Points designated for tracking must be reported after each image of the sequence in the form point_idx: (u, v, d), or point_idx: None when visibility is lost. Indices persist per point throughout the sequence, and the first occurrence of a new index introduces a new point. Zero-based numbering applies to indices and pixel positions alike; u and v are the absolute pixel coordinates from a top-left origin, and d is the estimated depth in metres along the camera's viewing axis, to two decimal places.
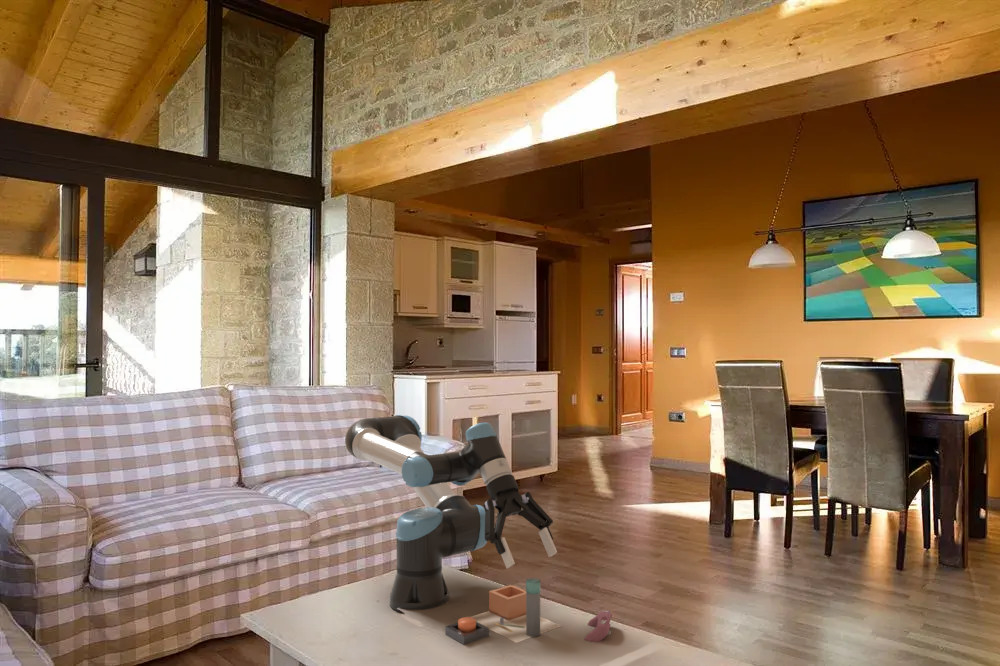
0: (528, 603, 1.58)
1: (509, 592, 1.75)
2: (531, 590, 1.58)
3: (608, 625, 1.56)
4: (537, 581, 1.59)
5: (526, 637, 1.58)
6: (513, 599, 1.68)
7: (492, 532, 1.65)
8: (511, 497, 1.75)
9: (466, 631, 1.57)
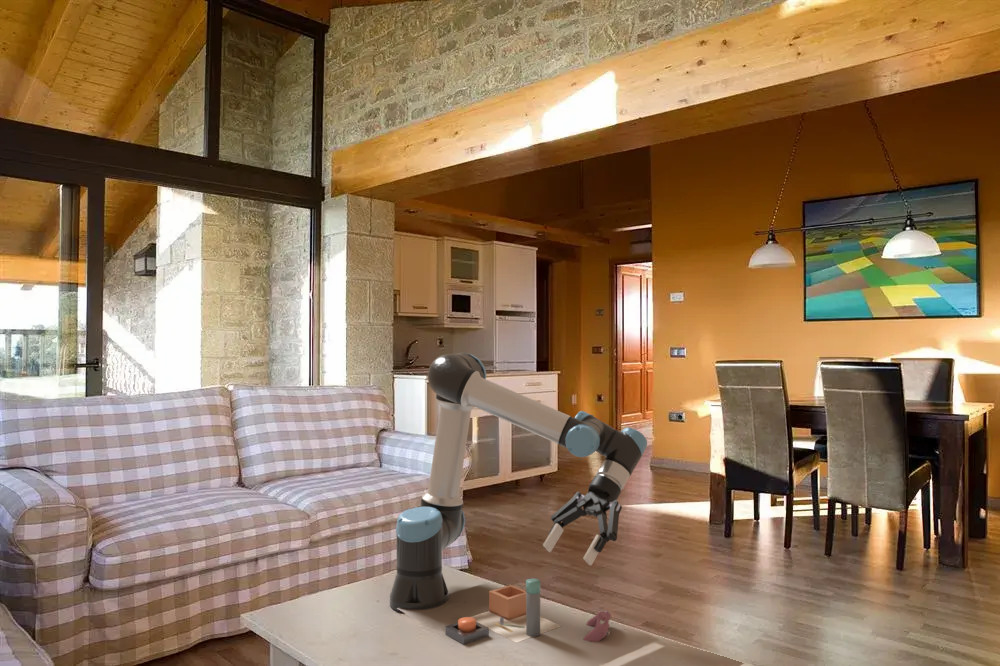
0: (528, 603, 1.58)
1: (509, 592, 1.75)
2: (531, 590, 1.58)
3: (607, 625, 1.56)
4: (537, 581, 1.59)
5: (526, 637, 1.58)
6: (513, 599, 1.68)
7: None
8: None
9: (466, 631, 1.57)
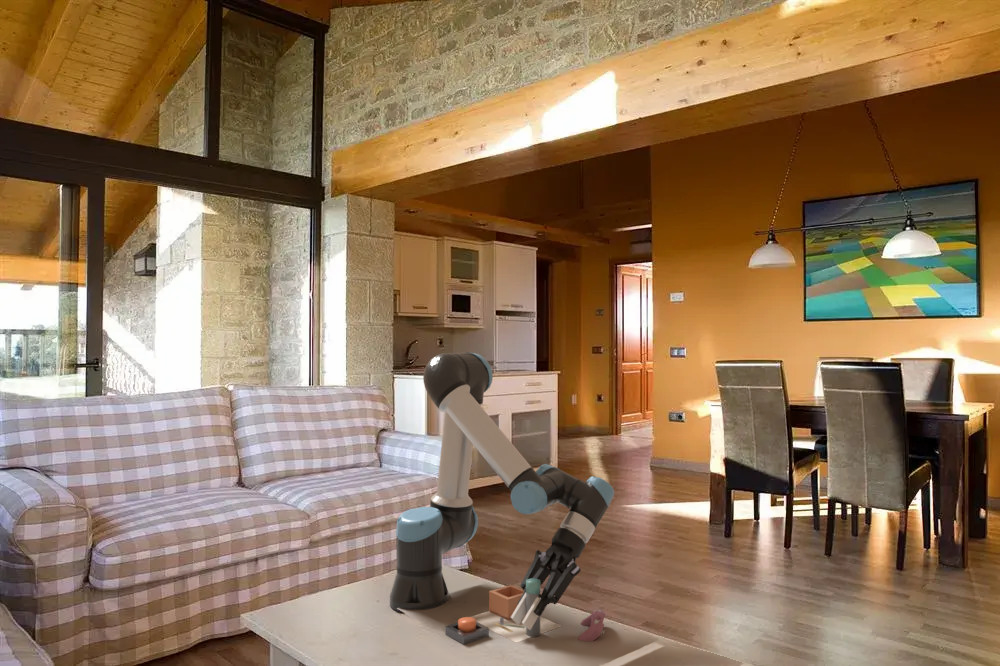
0: (528, 603, 1.58)
1: (509, 592, 1.75)
2: (531, 590, 1.58)
3: (601, 625, 1.56)
4: (537, 581, 1.59)
5: (526, 637, 1.58)
6: (513, 599, 1.68)
7: None
8: None
9: (466, 631, 1.57)
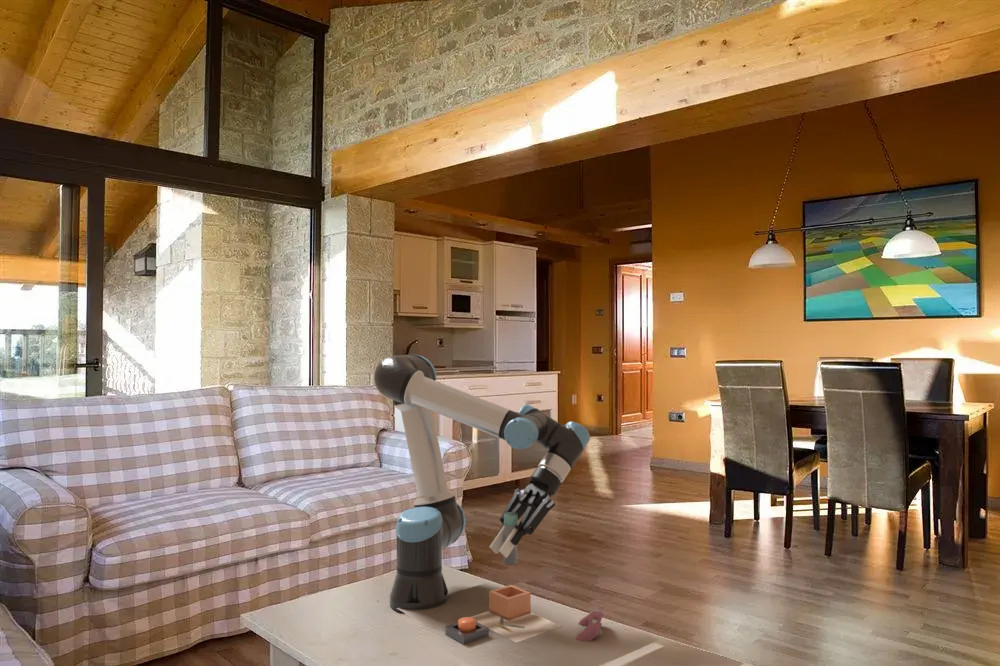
0: (506, 534, 1.70)
1: (509, 592, 1.75)
2: (509, 522, 1.70)
3: (599, 624, 1.57)
4: (514, 514, 1.71)
5: (526, 637, 1.58)
6: (513, 599, 1.68)
7: None
8: None
9: (466, 631, 1.57)
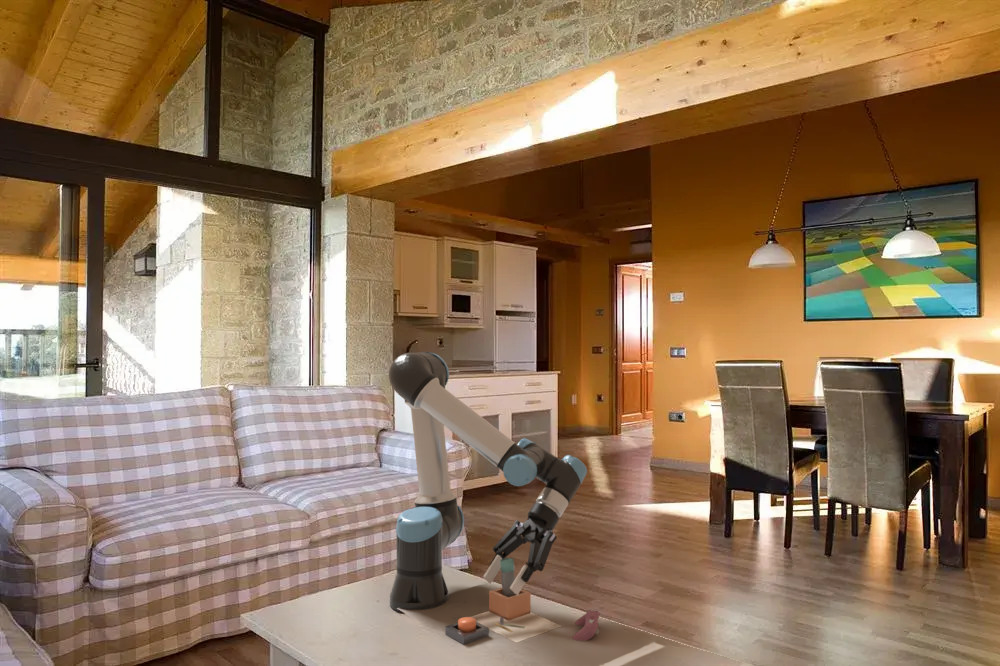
0: (503, 581, 1.71)
1: None
2: (505, 569, 1.71)
3: (596, 624, 1.57)
4: (510, 560, 1.72)
5: (526, 637, 1.58)
6: (513, 599, 1.68)
7: None
8: None
9: (466, 631, 1.57)
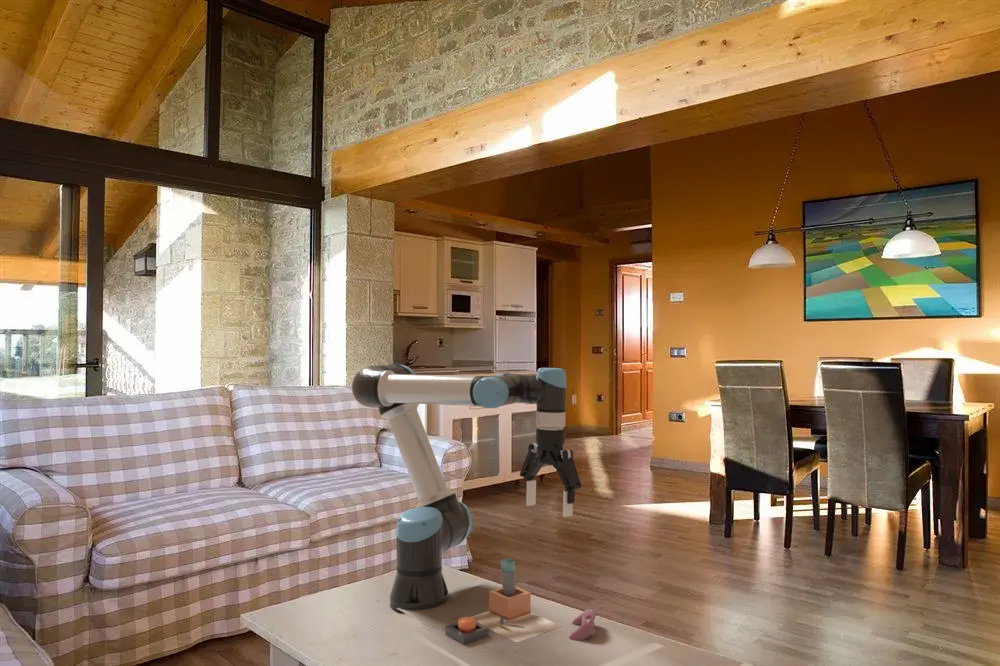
0: (504, 581, 1.71)
1: None
2: (506, 570, 1.70)
3: (592, 624, 1.57)
4: (511, 561, 1.72)
5: (526, 637, 1.58)
6: (513, 599, 1.68)
7: None
8: None
9: (466, 631, 1.57)
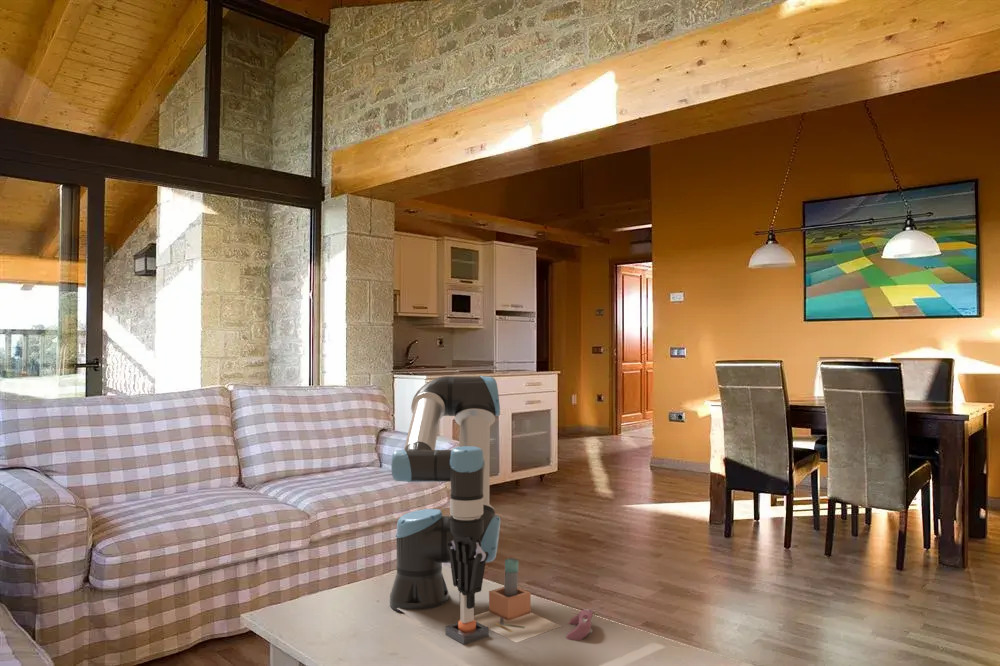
0: (506, 581, 1.71)
1: None
2: (510, 569, 1.70)
3: (589, 623, 1.57)
4: (515, 561, 1.72)
5: (526, 637, 1.58)
6: (513, 599, 1.68)
7: None
8: None
9: (466, 632, 1.57)
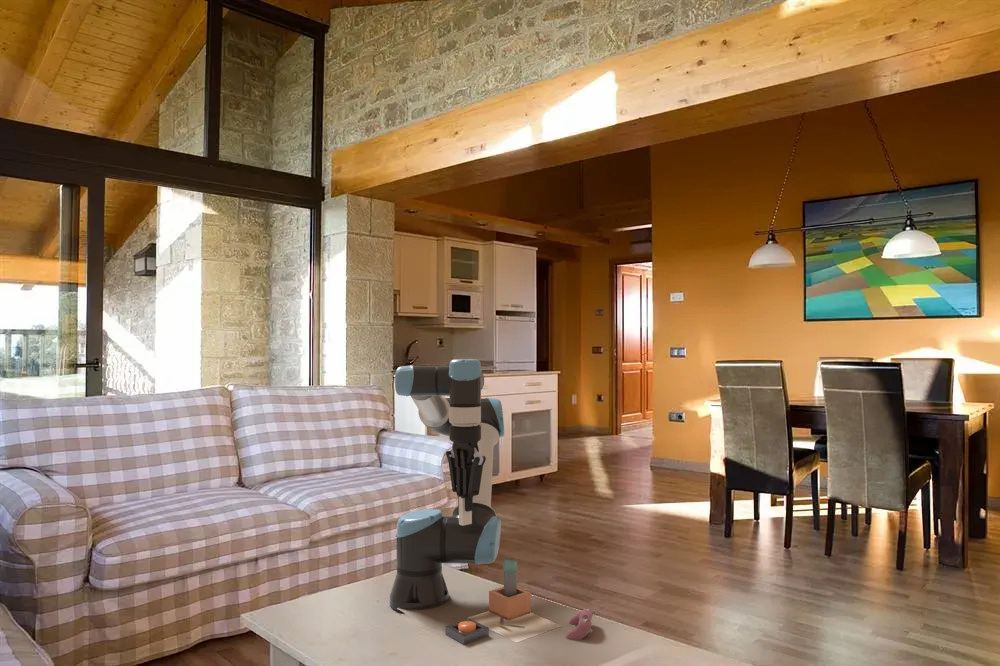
0: (505, 581, 1.71)
1: None
2: (509, 569, 1.71)
3: (589, 623, 1.57)
4: (514, 560, 1.72)
5: (526, 637, 1.58)
6: (513, 599, 1.68)
7: None
8: None
9: None
